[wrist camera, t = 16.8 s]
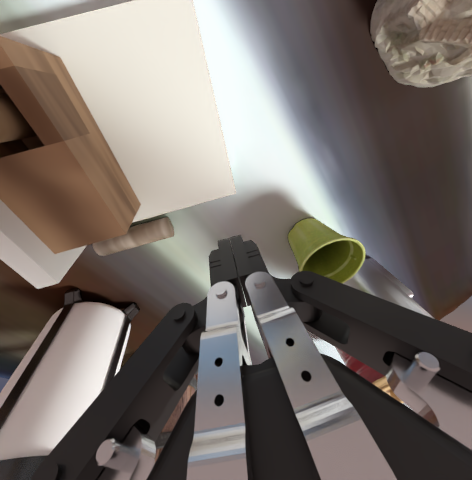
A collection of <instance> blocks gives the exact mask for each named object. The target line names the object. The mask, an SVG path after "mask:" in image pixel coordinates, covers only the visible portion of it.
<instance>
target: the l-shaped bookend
mask: <svg viewBox="0 0 472 480" xmlns="http://www.w3.org/2000/svg"><path fill="white" fill-rule="evenodd" d="M0 36H2V37H5V38H8V39H11V40H13V41H16V42H19V43H22V44H25V45H28V46H30V47H33V48H36V49H39V50H42V51H44V52H47V53H50V54H53V55H56V56H59V57H60V58H61V59H62V61H63V63H64V65H65V67H66V68H67V70H68V72H69V74H70V76H71V78H72V79H73V81H74V83H75V85H76V87H77V89H78V90H79V92H80V94H81V96H82V98H83V100H84V101H85V103H86V105H87V107H88V109H89V110H90V112H91V114H92V116H93V118H94V120H95V121H96V123H97V125H98V127H99V129H100V131H101V132H102V134H103V136H104V138H105V140H106V141H107V143H108V145H109V147H110V149H111V151H112V152H113V154H114V156H115V158H116V160H117V162H118V163H119V165H120V167H121V169H122V171H123V173H124V174H125V176H126V178H127V180H128V182H129V183H130V185H131V187H132V189H133V191H134V193H135V194H136V196H137V198H138V200H139V202H140V204H141V206H140V208H139V210H138V212H137V213H136V215H135V217H134V219H133V221H132V223H133V222H136V221H140V220H144V219H147V218H151V217H154V216H158V215H161V214H165V213H169V212H172V211H176V210H179V209H183V208H187V207H190V206H194V205H197V204H201V203H204V202H208V201H212V200H215V199H219V198H222V197H226V196H230V195H233V194H236V189H235V185H234V181H233V176H232V172H231V167H230V163H229V158H228V154H227V150H226V145H225V141H224V136H223V132H222V128H221V123H220V119H219V114H218V110H217V105H216V101H215V97H214V92H213V88H212V83H211V79H210V74H209V70H208V66H207V61H206V57H205V52H204V48H203V44H202V39H201V35H200V30H199V26H198V21H197V17H196V13H195V8H194V4H193V0H133V1H129V2H125V3H121V4H117V5H113V6H109V7H105V8H101V9H97V10H93V11H89V12H85V13H82V14H78V15H74V16H70V17H66V18H62V19H58V20H54V21H50V22H46V23H42V24H38V25H34V26H30V27H26V28H22V29H18V30H14V31H10V32H6V33H2V34H0ZM86 246H87V245H86ZM86 246H82V247H79V248H75V249H72V250H68V251H64V252H61V253H57V254H54V253H53V252H52V251H51V250H50V249H49V248H48V247H47V246H46V245H45V244H44V243H43V242H42V241H41V240H40V239H39V238H38V237H37V236H36V235H35V234H34V233H33V232H32V231H31V230H30V229H29V228H28V227H27V226H26V225H25V224H24V223H23V222H22V221H21V220H20V219H19V218H18V217H17V216H16V215H15V214H14V213H13V212H12V211H11V210H10V209H9V208H8V207H7V206H6V205H5V204H4V203H3V202H2V201H1V200H0V259H1V260H2V261H4V262H5V263H6V264H7V265H9V266H10V267H11V268H12V269H13V270H15V271H16V272H17V273H18V274H20V275H21V276H22V277H23V278H24V279H26V280H27V281H28V282H29V283H31V284H32V285H33V286H34V287H36V288H37V289H40V288H43V287H47V286H50V285H54V284H57V283H59V282H60V281H61V279H62V278H63V277H64V275H65V274H66V273H67V271H68V270H69V269H70V267H71V266H72V265H73V263H74V262H75V261H76V259H77V258H78V257H79V255H80V254H81V253H82V251H83V250H84V248H85V247H86Z"/></svg>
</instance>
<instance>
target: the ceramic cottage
mask: <svg viewBox="0 0 472 480" xmlns="http://www.w3.org/2000/svg"><path fill="white" fill-rule="evenodd" d="M370 27H371V29H370V32H371V33H370V34H371V35H372V36H371V38H372V41H375V48H378V52H379V54H380V57H381V59H382V60H383V61H384V63H385V65H386V66H387V70H388V71H389V72H390V73H389V74H390V75H391V76H393V79H395V80H396V81H397V82H398V83H403V84H405V85H413V86H416V87H434V86H437V85H440V84H443V83H447V82H451V81H453V80H456V79H459V78H461V77H468V76H472V0H377V2H376V4H375V7H374V10H373V13H372V19H371V26H370Z"/></svg>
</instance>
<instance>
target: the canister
mask: <svg viewBox="0 0 472 480" xmlns="http://www.w3.org/2000/svg"><path fill="white" fill-rule="evenodd" d="M335 348H336V349H337V351H338V353H339V354H340V356H341V358H342V359H343V361H344V363H345V365H346V366H347V367H348V368H350V369H351V370H353V371H354V372H356V373H357V374H359V375H360V376H362V377H363V378H365V379H366V380H368V381H369V382H371V383H372V384H374V385H375V386H377V387H378V388H380V389H381V390H383V391H384V392H386V393H387V394H389V395H390V396H392V397H393V398H395V399H396V400H398V401H399V402H401V403H404V402H403V401H402V400H400V399H399V398H398V397H397V396H396V395H395V394H394V393H393V391H392V390H391V388H390V387H389V385H388V382H387V378H386V376H384V375H382V374H381V373H379V372H377V371H376V370H374V369H372V368H371V367H369V366H367V365H365V364H364V363H362V362H360V361H359V360H357V359H355V358H354V357H352V356H350V355H348V354H347V353H345V352H343V351H342V350H340V349H338V348H337V347H335Z"/></svg>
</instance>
